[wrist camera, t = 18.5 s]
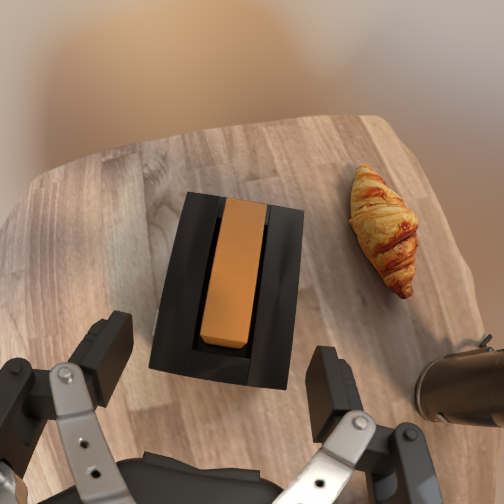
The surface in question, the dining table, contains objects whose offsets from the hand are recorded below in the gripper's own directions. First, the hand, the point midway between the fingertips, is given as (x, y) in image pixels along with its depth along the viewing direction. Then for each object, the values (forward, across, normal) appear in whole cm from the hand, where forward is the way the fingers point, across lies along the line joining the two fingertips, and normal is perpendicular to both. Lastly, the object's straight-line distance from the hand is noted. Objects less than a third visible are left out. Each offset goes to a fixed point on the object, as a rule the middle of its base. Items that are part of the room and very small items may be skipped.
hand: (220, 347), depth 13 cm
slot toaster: (+21, 0, +12) cm, 24 cm away
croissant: (+31, -20, +2) cm, 37 cm away
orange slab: (+16, 0, +7) cm, 17 cm away
